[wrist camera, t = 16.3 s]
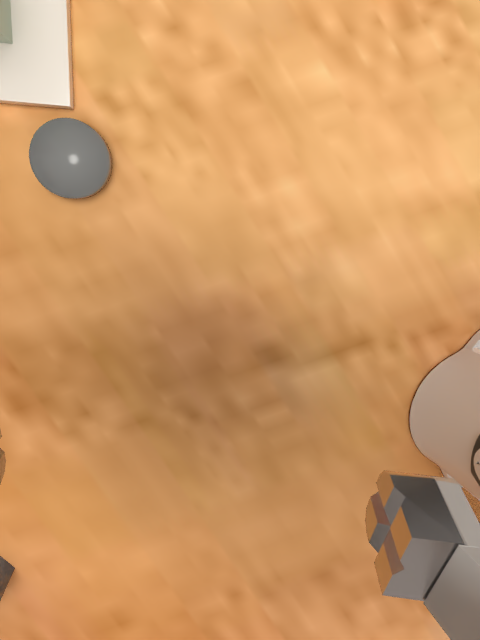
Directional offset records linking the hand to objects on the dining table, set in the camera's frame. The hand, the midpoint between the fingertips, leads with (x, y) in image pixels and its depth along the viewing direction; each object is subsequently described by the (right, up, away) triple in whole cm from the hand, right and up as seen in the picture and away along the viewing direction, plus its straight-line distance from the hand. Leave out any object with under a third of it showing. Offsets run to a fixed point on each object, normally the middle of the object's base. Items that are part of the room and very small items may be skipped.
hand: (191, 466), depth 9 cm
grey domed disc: (-13, +17, +28) cm, 34 cm away
